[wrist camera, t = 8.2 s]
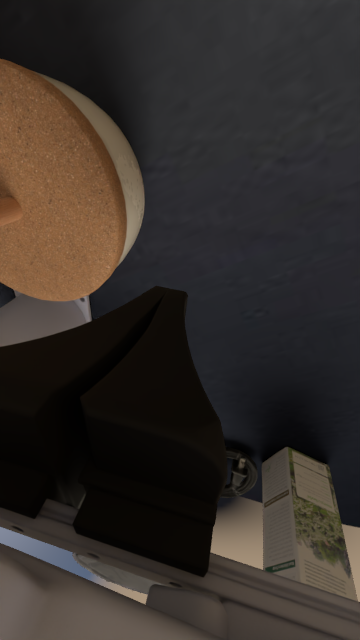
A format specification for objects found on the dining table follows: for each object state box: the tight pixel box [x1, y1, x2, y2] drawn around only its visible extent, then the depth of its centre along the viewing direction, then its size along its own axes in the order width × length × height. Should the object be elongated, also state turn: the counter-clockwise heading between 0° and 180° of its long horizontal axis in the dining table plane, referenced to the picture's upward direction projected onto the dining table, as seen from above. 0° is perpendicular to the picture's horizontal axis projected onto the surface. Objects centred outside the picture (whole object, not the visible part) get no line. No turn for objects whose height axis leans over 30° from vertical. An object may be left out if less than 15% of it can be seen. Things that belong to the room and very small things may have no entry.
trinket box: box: [0, 59, 145, 301], centre depth 15 cm, size 11×11×9 cm
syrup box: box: [262, 447, 358, 601], centre depth 27 cm, size 6×6×14 cm
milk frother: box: [73, 447, 257, 594], centre depth 29 cm, size 14×16×15 cm
